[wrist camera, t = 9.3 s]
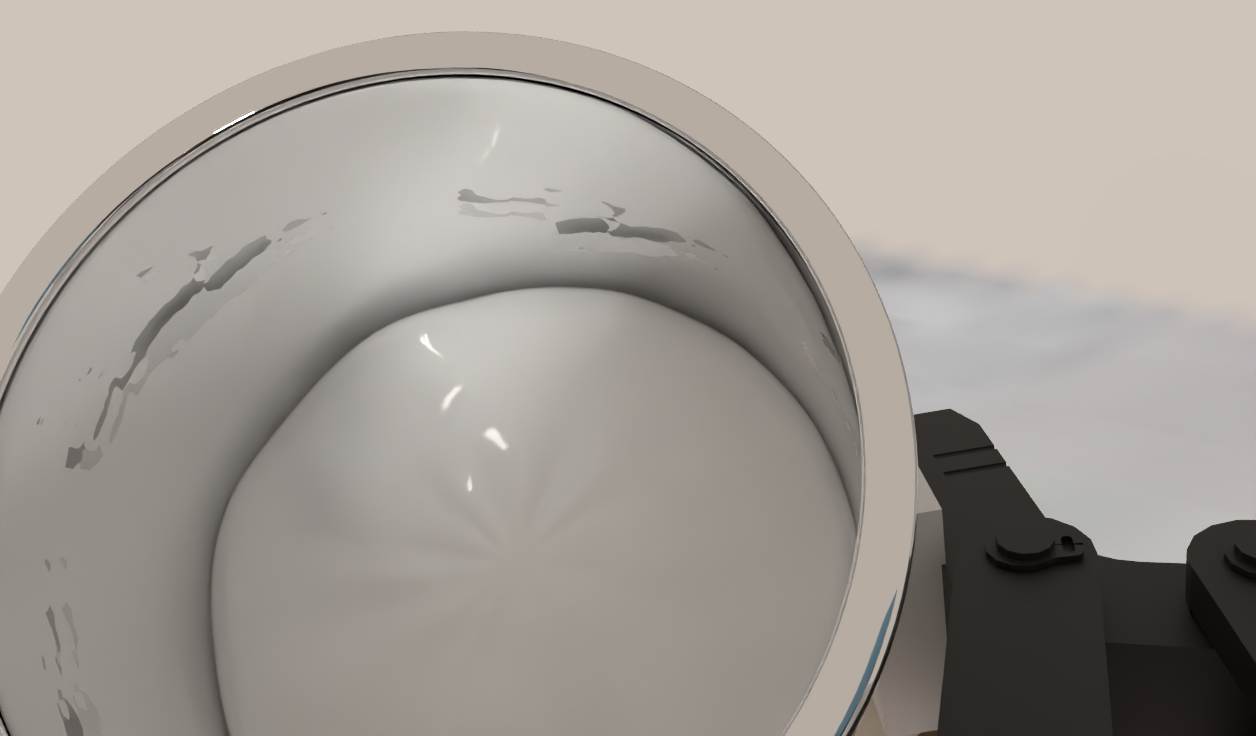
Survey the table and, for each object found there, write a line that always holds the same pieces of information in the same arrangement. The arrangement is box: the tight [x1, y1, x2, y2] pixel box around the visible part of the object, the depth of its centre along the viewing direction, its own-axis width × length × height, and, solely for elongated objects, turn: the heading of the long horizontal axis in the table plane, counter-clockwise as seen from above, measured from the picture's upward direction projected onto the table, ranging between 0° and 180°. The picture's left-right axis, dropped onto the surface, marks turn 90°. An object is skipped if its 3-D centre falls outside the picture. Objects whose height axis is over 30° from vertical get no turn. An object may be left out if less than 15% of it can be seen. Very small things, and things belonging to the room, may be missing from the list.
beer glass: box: [0, 32, 918, 736], centre depth 14 cm, size 7×7×15 cm
